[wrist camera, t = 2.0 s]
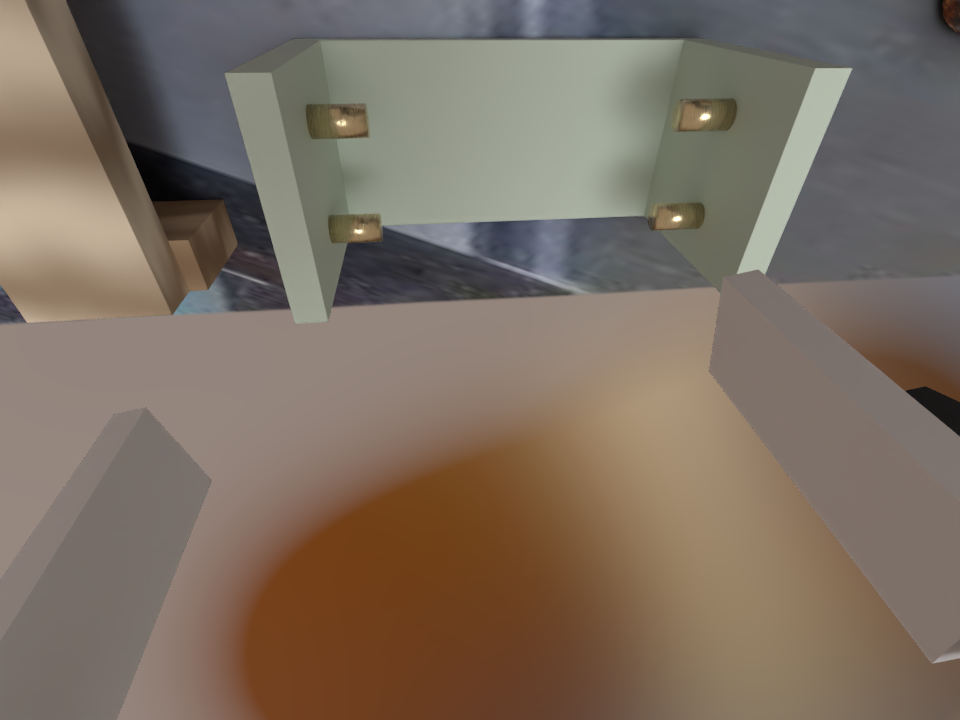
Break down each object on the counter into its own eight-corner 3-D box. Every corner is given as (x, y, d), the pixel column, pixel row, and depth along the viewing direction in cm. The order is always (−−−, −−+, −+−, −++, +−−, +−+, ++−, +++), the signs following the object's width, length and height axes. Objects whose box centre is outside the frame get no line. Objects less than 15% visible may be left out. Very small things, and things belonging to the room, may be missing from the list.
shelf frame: (329, 221, 31) (295, 323, 22) (293, 38, 25) (224, 73, 16) (658, 209, 33) (754, 298, 24) (701, 38, 27) (852, 68, 18)
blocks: (-126, -157, 20) (-294, -199, 15) (108, -149, 20) (18, -187, 16) (93, 250, 31) (36, 298, 26) (237, 244, 32) (208, 289, 27)
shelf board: (-258, -198, 15) (-357, -225, 13) (-15, -188, 16) (-75, -212, 14) (55, 297, 26) (27, 322, 24) (189, 290, 27) (172, 315, 25)
